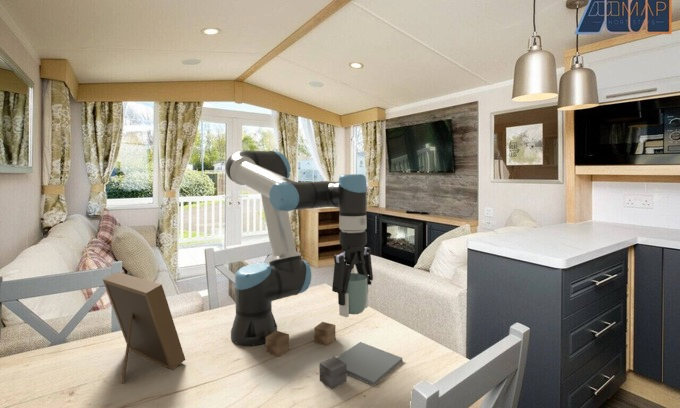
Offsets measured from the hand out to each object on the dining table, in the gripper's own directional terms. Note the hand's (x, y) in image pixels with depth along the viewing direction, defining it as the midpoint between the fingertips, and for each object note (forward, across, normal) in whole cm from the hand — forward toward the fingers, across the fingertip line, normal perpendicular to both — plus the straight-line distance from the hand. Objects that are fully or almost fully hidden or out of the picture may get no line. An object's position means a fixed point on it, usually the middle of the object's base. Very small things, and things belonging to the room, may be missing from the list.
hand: (353, 310), depth 97 cm
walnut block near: (+16, -9, +23) cm, 29 cm away
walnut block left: (+16, +5, +16) cm, 23 cm away
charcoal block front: (+16, -9, 0) cm, 19 cm away
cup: (0, 0, 0) cm, 0 cm away
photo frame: (+15, -40, +47) cm, 63 cm away
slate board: (+16, +3, -2) cm, 16 cm away
